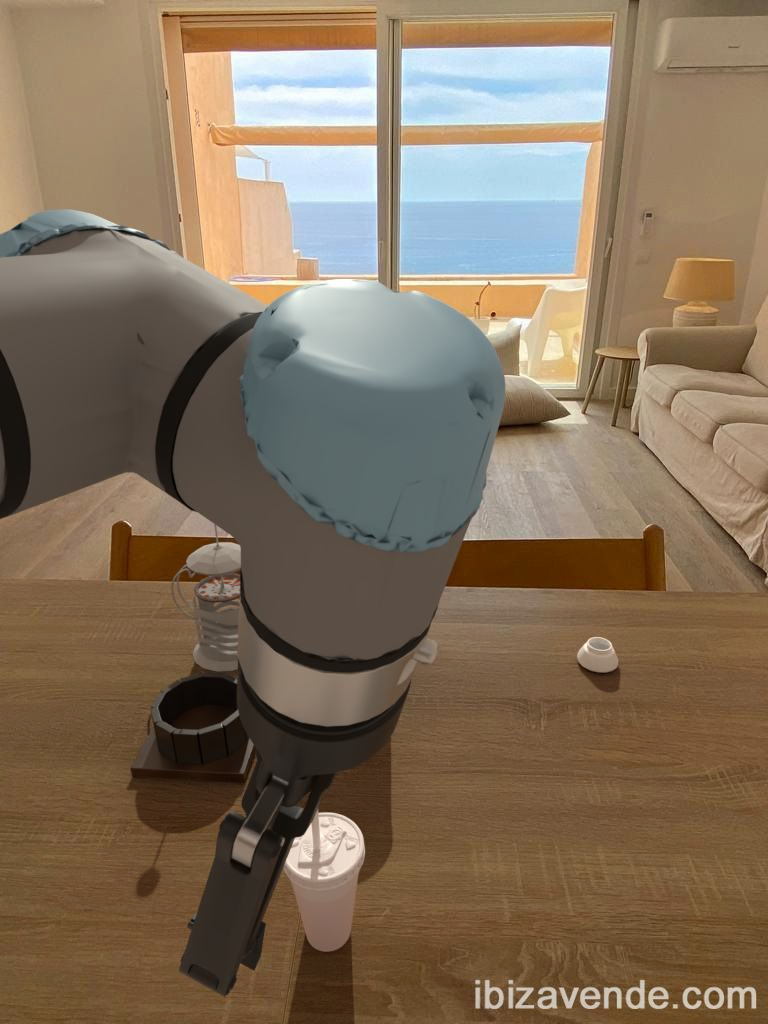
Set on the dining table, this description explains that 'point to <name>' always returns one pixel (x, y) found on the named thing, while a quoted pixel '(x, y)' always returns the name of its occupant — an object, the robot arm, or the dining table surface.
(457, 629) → the dining table surface
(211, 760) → the cup holder
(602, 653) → the upturned white bowl
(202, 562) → the french press
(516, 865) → the dining table surface
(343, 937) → the smoothie
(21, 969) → the dining table surface
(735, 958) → the dining table surface
